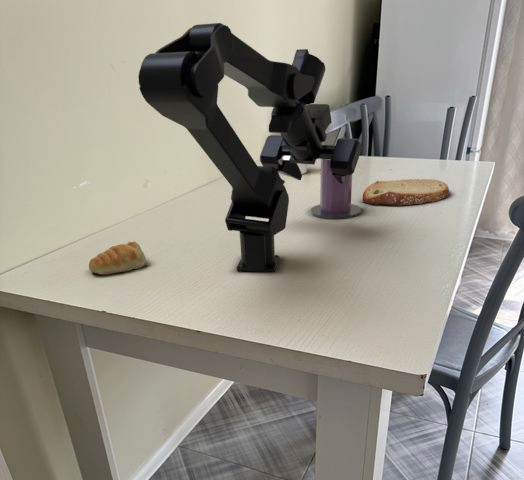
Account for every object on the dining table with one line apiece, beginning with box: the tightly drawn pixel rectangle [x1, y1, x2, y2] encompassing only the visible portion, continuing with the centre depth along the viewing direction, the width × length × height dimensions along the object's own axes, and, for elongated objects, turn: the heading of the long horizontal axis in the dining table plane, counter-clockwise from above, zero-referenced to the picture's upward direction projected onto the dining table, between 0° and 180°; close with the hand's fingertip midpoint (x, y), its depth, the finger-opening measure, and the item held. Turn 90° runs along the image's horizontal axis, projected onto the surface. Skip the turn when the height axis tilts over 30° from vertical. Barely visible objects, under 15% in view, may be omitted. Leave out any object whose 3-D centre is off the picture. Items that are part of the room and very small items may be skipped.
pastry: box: [88, 240, 147, 276], centre depth 88 cm, size 9×7×4 cm
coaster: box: [310, 203, 362, 220], centre depth 112 cm, size 11×11×1 cm
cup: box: [319, 159, 353, 214], centre depth 109 cm, size 7×7×11 cm
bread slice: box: [362, 178, 450, 207], centre depth 119 cm, size 18×18×4 cm
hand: (321, 180), depth 102 cm, fingers open, 9 cm apart
